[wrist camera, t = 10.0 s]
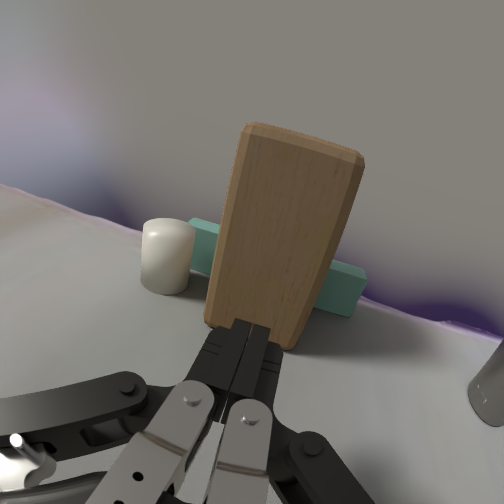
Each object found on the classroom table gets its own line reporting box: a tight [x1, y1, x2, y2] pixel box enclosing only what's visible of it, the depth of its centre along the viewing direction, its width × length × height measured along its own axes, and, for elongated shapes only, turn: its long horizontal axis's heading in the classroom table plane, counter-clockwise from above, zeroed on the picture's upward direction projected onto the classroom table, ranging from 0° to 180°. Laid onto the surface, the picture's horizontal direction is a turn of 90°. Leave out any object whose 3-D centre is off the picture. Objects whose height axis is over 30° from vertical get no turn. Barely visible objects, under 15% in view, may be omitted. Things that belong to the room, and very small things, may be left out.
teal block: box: [187, 218, 368, 317], centre depth 36 cm, size 24×3×6 cm, turn 78°
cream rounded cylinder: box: [141, 218, 196, 295], centre depth 32 cm, size 6×6×7 cm
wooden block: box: [204, 122, 365, 350], centre depth 27 cm, size 10×10×20 cm
